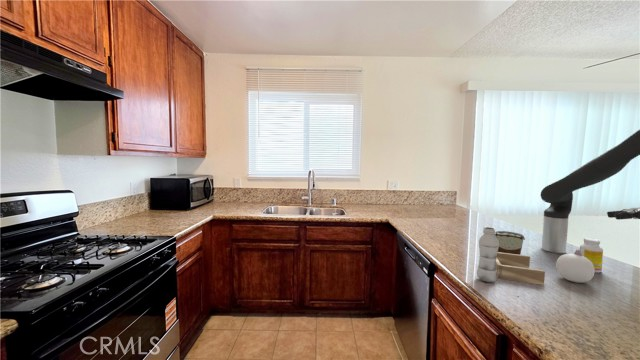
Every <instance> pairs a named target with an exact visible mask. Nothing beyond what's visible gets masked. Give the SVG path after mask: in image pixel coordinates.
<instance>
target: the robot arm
mask: <svg viewBox="0 0 640 360" xmlns="http://www.w3.org/2000/svg"><path fill="white" fill-rule="evenodd" d="M638 156H640V128H639V129H638V130H637V131H635V132H634V133H632V134H631V135H629V136H628V137H627V138H626V139H624V140H623V141H621V142H620V143H618V144H617V145H615V146H613V147H612V148H610V149H608V150H607V151H605V152H603V153H602V154H599V156H596V157H595V158H593V159H592V160H589V161H588V162H586V163H585V164H583V165H581V166H580V167H579V168H577V169H575V170H574V171H572V172H570V173H569V174H568V175H565V176H564V177H562V178H560V179H558V180H557V181H555V182H552V183H550V184H548V185H546V186H545V187H543V189H542V190H541V192H540V199H541V200H542V201H543V202H545V203H548V204H549V206H548V207H547V208H546V209H544V210H543V219H542V220H543V222H542V235H541V237H542V238H541V249H542V250H543V251H545V252H550V253H554V254H567V243H568V241H567V240H568V231H569V230H568V228H569V215H570V214H571V212H572V209H573V208H572V207H573V199H574V194H573V192H575V191H577V190H580V189H584V188H586V187H587V188H588V187H589V186H593V185H595V184H598V183H601V182H604V181H606V180H608V179H610V178H611V177H613V176H616V174H618V173H620V172H621V171H622V170H623V169H624V168H625V167H626V166H627V165H628V164H630V162H631V161H632V160H634V159H636V158H637V157H638ZM606 215H607V217H608V218H610V219H611V218H615V220H631V219H633V220H640V207H631V208H625V209H624V208H623V209H621V210H613V211H612V210H611V211H607V212H606Z"/></svg>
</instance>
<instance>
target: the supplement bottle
mask: <svg viewBox="0 0 640 360" xmlns="http://www.w3.org/2000/svg"><path fill="white" fill-rule="evenodd" d="M600 244H601V240H600V239H596V238H591V237H584V238H583V243H581V244H580V245H579V250H581V253H582V256H584V257H586V258H587V259H589V260H590V261H591V262H592V264H593V266H594V270H595V274H597V273H601V272H602V270H603V269H602V268H603V255H604V249H603V247H601V246H600Z"/></svg>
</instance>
